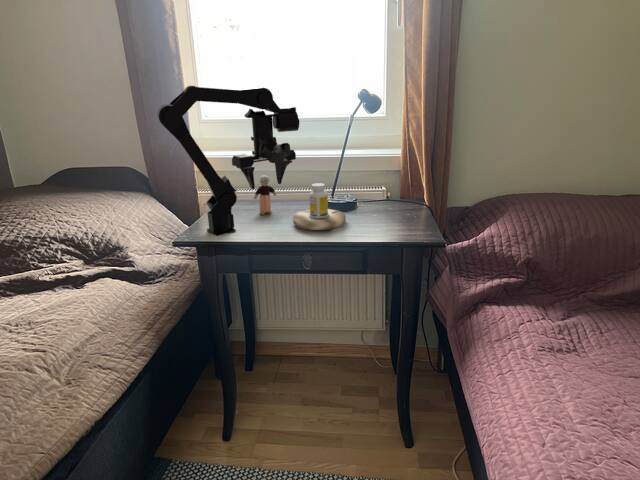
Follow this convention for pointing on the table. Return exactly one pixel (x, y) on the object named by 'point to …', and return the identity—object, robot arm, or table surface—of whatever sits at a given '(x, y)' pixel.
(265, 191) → the grandmother figurine
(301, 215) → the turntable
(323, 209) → the supplement bottle
